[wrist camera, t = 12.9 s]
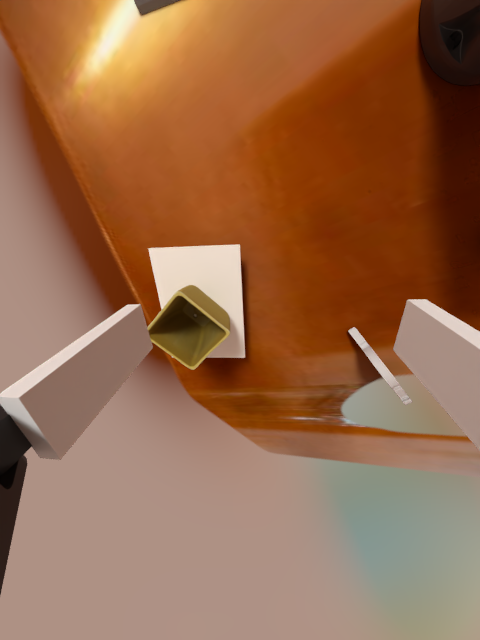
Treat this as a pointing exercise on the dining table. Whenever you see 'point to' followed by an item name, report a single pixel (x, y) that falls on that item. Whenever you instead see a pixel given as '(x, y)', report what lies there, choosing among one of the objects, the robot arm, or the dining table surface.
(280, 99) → the dining table surface
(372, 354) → the decorative sign
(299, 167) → the dining table surface
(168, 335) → the flower pot
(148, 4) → the gray half cylinder
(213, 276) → the display ledge
